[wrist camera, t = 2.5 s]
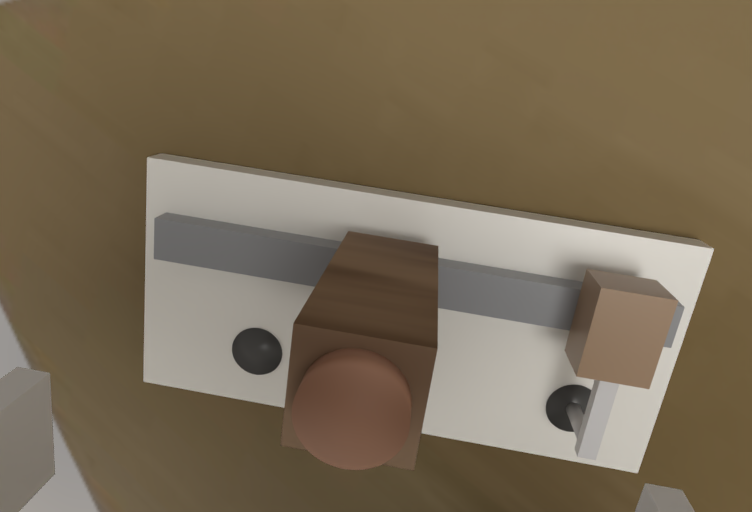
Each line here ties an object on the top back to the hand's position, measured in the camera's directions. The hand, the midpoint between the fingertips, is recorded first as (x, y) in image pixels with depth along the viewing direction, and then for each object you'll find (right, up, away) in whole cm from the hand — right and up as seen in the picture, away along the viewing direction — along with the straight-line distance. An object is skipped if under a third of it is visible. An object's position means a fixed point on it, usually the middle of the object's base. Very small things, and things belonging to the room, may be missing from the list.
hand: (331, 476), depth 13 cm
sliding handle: (+1, +2, +15) cm, 15 cm away
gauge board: (+2, +2, +17) cm, 17 cm away
